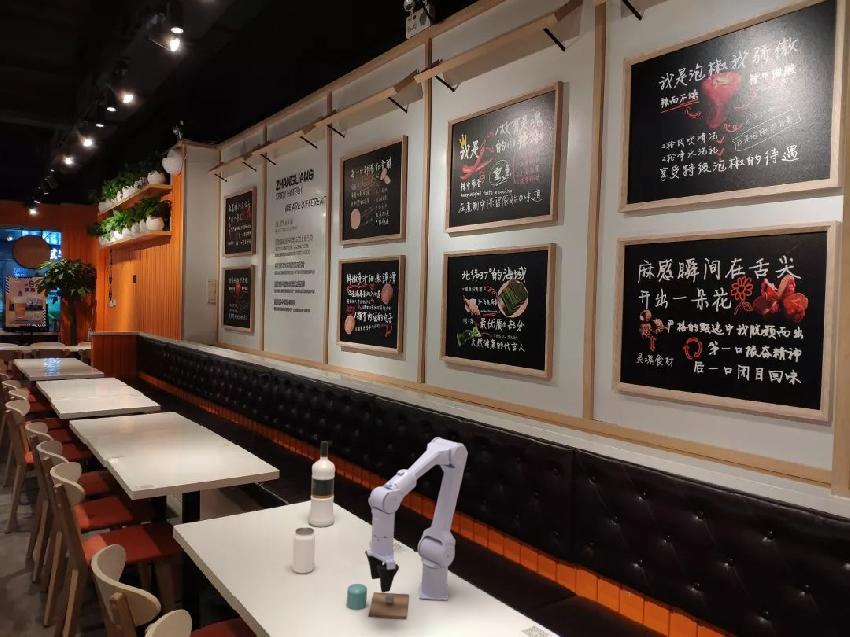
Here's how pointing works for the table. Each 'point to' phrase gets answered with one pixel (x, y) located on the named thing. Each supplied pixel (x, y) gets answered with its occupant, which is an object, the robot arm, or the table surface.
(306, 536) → the can
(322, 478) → the vodka
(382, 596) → the stud board
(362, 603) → the cap
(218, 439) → the table surface
